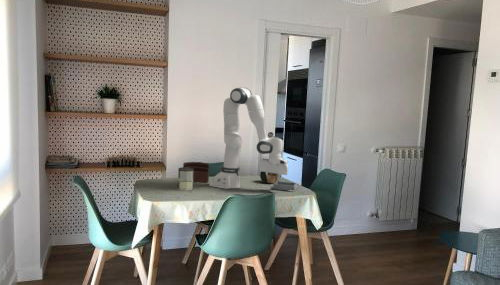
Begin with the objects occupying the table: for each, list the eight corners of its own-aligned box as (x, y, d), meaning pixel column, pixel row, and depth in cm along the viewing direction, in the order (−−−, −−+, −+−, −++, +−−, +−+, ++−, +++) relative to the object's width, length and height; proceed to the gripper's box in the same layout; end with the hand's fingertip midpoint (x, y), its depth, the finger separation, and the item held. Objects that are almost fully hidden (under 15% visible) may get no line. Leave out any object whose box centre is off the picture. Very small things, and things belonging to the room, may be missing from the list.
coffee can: (174, 188, 280) (175, 167, 279) (187, 186, 287) (187, 166, 286) (183, 191, 273) (184, 170, 271) (195, 189, 280) (196, 169, 279)
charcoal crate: (273, 189, 293) (273, 184, 292) (277, 186, 305) (277, 181, 305) (293, 191, 289) (294, 186, 288) (296, 188, 301) (297, 183, 301)
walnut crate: (267, 182, 283) (267, 175, 282) (270, 180, 292) (270, 173, 291) (274, 183, 282) (275, 176, 281) (277, 181, 290) (278, 174, 290)
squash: (281, 178, 308) (279, 161, 317) (262, 178, 306) (260, 161, 315) (278, 187, 320) (276, 171, 329) (259, 188, 318) (257, 171, 326)
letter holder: (182, 179, 313) (183, 161, 311) (208, 180, 314) (209, 162, 312) (181, 182, 303) (181, 163, 301) (208, 183, 304) (208, 164, 302)
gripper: (259, 158, 285) (257, 177, 286) (288, 162, 279) (285, 182, 281) (261, 157, 291) (259, 176, 292) (289, 161, 286) (287, 180, 287)
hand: (272, 179), depth 286 cm, fingers closed on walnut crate, 5 cm apart
